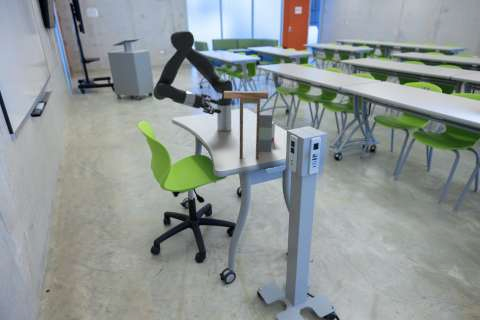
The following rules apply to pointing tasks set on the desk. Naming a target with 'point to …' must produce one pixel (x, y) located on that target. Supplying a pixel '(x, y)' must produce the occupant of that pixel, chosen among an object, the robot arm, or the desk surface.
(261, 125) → the block tower
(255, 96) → the terracotta bar
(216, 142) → the desk surface
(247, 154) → the desk surface
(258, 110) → the walnut stand
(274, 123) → the ink box
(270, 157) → the desk surface
